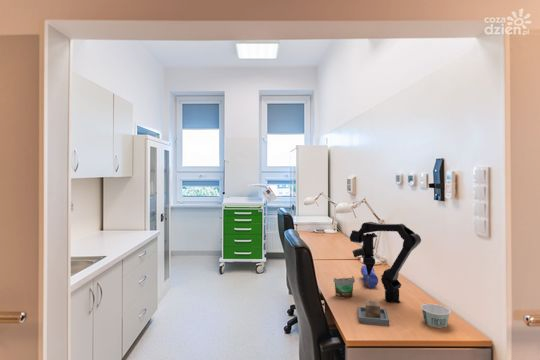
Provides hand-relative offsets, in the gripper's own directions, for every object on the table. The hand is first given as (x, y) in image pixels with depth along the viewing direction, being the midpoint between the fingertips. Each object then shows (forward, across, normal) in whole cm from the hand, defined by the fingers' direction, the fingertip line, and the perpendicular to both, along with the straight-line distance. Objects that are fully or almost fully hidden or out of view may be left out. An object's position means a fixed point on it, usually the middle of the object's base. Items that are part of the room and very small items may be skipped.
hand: (368, 272), depth 183 cm
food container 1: (+12, +8, -12) cm, 19 cm away
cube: (+11, +33, 0) cm, 35 cm away
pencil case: (+12, -20, +2) cm, 23 cm away
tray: (+12, +33, 0) cm, 35 cm away
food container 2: (+12, +32, +27) cm, 44 cm away
